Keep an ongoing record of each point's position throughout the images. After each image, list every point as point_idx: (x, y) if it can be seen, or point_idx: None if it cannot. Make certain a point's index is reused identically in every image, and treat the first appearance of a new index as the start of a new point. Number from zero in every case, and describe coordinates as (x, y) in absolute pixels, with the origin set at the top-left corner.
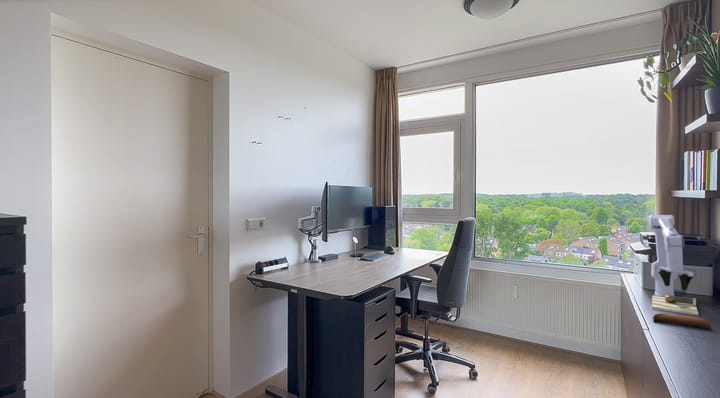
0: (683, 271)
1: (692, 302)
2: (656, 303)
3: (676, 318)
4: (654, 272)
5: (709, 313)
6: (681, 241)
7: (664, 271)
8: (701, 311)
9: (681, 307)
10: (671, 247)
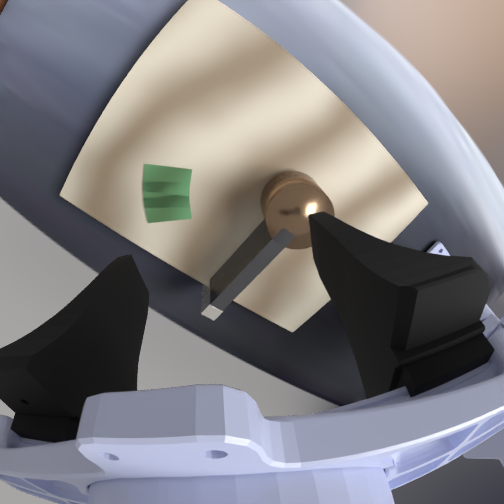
0: (11, 472)
1: (211, 285)
2: (272, 74)
3: None
4: None
5: None
6: None
7: (419, 364)
8: (144, 258)
9: (157, 172)
10: None
